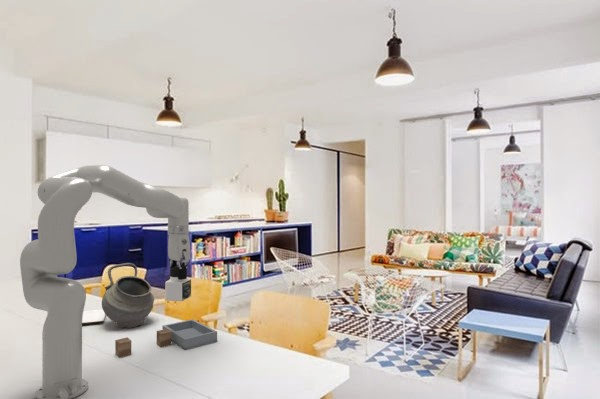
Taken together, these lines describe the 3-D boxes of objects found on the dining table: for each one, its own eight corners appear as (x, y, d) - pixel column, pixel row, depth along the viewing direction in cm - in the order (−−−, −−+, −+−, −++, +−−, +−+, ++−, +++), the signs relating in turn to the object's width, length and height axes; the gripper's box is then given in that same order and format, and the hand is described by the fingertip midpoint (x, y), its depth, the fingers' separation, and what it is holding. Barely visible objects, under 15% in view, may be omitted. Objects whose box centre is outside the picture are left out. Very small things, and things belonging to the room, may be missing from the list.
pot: (104, 319, 178) (104, 263, 178) (153, 315, 185) (154, 260, 185) (98, 334, 158) (99, 271, 158) (154, 328, 166) (154, 268, 166)
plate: (103, 325, 171) (103, 320, 171) (53, 330, 164) (53, 325, 164) (106, 313, 188) (106, 308, 188) (61, 317, 181) (61, 312, 181)
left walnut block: (131, 354, 139) (131, 340, 138) (119, 357, 136) (119, 343, 136) (127, 351, 141) (127, 337, 141) (115, 354, 139) (115, 340, 139)
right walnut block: (171, 344, 148) (171, 331, 148) (160, 347, 145) (160, 333, 145) (167, 341, 151) (167, 328, 151) (156, 344, 148) (156, 330, 148)
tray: (217, 341, 152) (217, 331, 152) (184, 350, 143) (184, 339, 143) (193, 328, 167) (193, 319, 167) (162, 335, 158) (162, 325, 158)
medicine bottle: (182, 301, 148) (182, 269, 148) (164, 300, 149) (164, 268, 149) (191, 296, 155) (191, 265, 155) (174, 295, 156) (174, 265, 156)
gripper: (198, 231, 148) (198, 280, 148) (177, 228, 160) (177, 273, 161) (179, 232, 143) (179, 283, 143) (159, 229, 155) (159, 275, 156)
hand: (178, 277), depth 152 cm, fingers closed on medicine bottle, 6 cm apart
